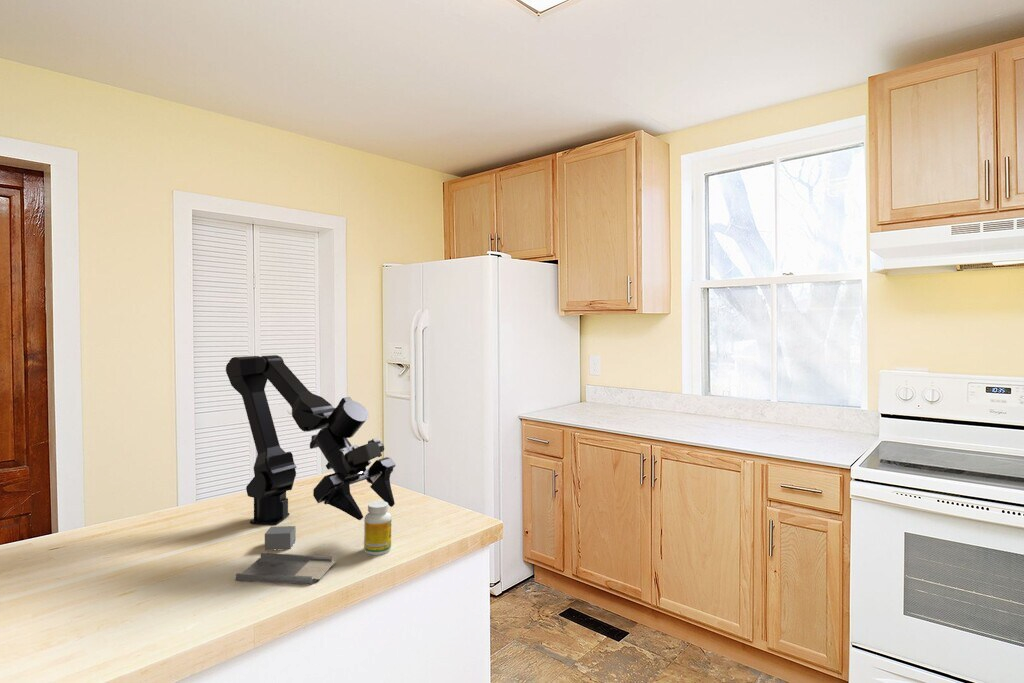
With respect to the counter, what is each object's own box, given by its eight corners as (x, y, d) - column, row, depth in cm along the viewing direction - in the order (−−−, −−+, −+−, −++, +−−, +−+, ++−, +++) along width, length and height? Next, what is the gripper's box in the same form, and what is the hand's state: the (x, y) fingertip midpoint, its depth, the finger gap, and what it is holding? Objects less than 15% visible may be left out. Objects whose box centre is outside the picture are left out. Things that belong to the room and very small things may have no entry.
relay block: (264, 551, 113) (264, 534, 113) (270, 543, 117) (270, 526, 117) (290, 550, 113) (290, 533, 113) (295, 542, 117) (295, 525, 117)
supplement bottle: (361, 547, 115) (362, 501, 115) (387, 543, 117) (388, 498, 117) (367, 557, 110) (367, 509, 110) (394, 553, 112) (394, 506, 112)
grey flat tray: (235, 580, 100) (235, 573, 100) (261, 559, 109) (261, 552, 109) (317, 584, 99) (317, 578, 99) (336, 562, 108) (336, 556, 108)
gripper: (323, 435, 107) (366, 501, 102) (389, 420, 124) (428, 477, 119) (295, 470, 111) (335, 535, 106) (362, 451, 128) (399, 507, 123)
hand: (377, 511), depth 113 cm, fingers open, 9 cm apart
